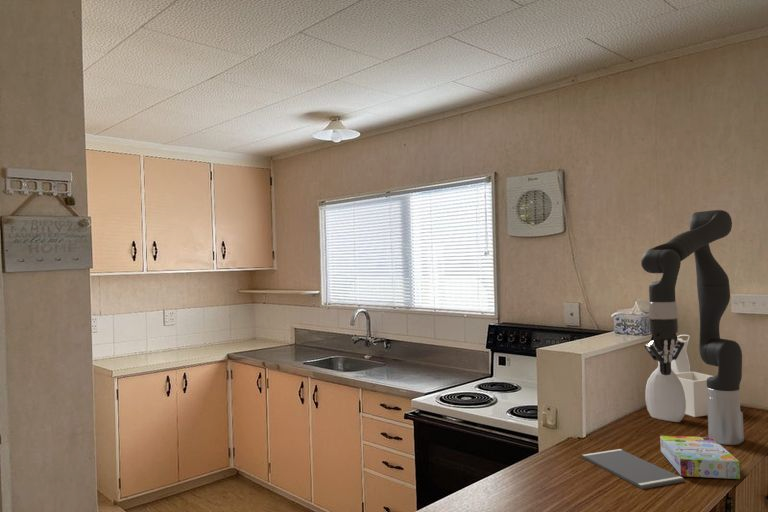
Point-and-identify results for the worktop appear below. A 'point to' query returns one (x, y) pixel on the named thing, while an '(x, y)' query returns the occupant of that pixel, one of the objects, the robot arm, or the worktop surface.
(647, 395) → the soap bottle
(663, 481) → the gray tablet computer
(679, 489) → the worktop surface
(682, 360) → the white twisted bottle
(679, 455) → the snack box
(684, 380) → the utensil crock
